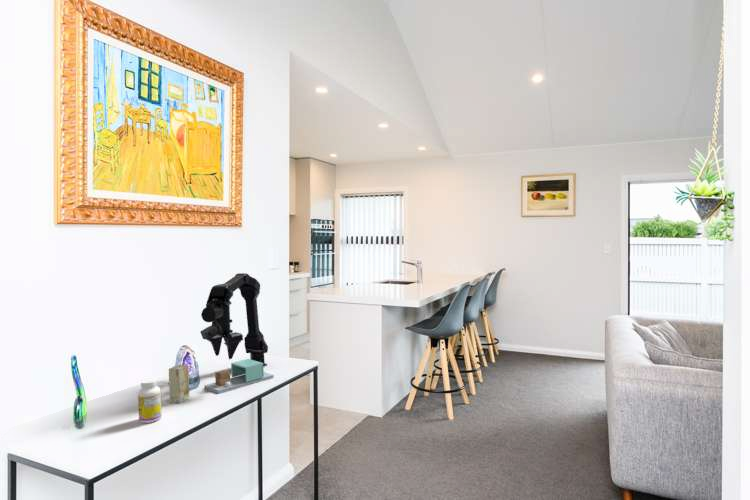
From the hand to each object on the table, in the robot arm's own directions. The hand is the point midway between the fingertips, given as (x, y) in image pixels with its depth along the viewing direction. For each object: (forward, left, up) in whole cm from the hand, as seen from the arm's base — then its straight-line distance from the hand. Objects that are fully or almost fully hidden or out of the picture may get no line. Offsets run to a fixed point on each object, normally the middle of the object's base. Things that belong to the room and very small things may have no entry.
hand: (223, 357), depth 185 cm
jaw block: (0, -1, -10) cm, 11 cm away
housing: (0, +10, -10) cm, 15 cm away
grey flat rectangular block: (0, +7, -12) cm, 14 cm away
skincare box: (0, -18, -12) cm, 22 cm away
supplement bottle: (+11, -33, -12) cm, 37 cm away
